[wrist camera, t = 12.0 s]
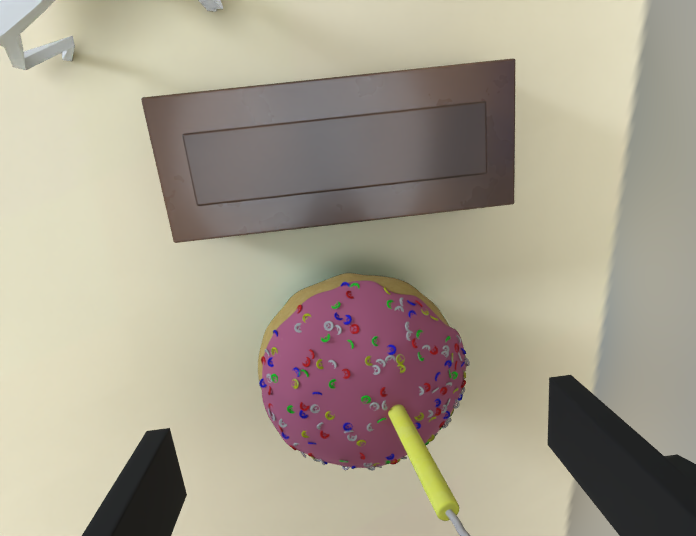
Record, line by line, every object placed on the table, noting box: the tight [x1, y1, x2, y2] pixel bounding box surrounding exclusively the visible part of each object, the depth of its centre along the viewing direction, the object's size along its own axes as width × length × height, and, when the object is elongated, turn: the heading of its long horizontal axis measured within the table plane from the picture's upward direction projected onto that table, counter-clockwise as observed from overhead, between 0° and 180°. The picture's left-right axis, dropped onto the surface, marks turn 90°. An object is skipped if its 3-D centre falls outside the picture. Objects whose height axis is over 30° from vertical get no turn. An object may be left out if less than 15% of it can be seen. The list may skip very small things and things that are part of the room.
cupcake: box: [258, 273, 470, 536], centre depth 16 cm, size 9×8×12 cm
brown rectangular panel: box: [141, 59, 515, 243], centre depth 17 cm, size 14×6×4 cm, turn 96°
